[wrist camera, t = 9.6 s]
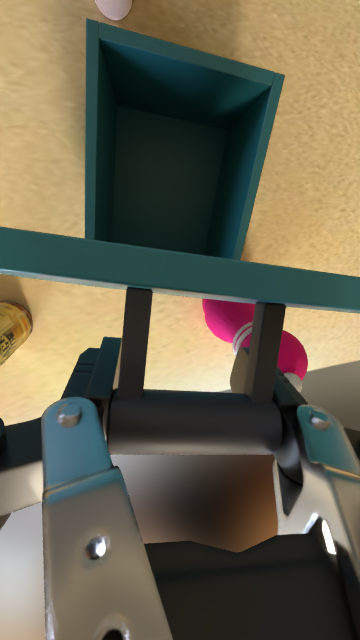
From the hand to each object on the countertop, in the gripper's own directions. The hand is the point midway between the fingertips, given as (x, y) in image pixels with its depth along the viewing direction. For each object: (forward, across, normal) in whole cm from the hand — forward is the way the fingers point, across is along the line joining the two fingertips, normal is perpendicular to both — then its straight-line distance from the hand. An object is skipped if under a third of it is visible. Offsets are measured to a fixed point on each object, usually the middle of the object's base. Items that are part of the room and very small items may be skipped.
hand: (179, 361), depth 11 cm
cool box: (+25, 0, -7) cm, 26 cm away
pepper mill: (+25, -10, +6) cm, 28 cm away
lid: (+4, 0, -2) cm, 5 cm away
